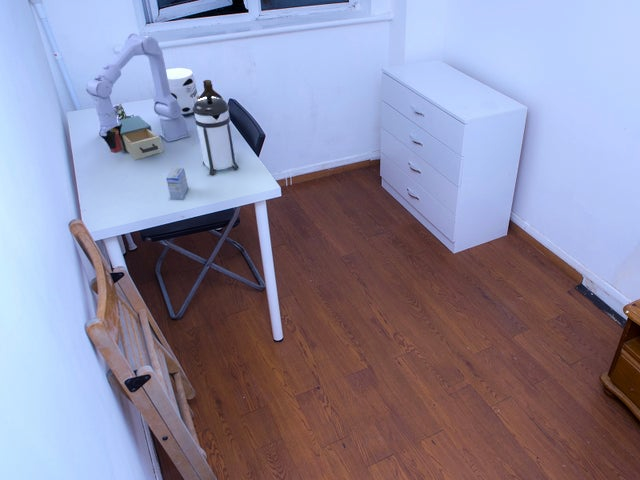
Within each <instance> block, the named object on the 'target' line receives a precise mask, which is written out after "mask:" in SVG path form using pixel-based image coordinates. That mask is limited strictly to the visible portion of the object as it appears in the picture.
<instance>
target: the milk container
mask: <svg viewBox="0 0 640 480" xmlns="http://www.w3.org/2000/svg"><path fill="white" fill-rule="evenodd" d="M166 72H167V77H168V82H169V87H170V92H171V95H172V96H173V97H174V98H175V99H177V102H178V105H179V106H180V108H181V114H182V115H183V116H188V115H191V114H195V113H194V112H193V106H194V104H195V102H196V101H198V99H199V97H200V94H199V92H198V90H197V86H196V85H197V84H196V80H195V75H194V72H193V71H192V70H191V69H189V68H184V67H175V68H168V69H167V68H166Z"/></svg>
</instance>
